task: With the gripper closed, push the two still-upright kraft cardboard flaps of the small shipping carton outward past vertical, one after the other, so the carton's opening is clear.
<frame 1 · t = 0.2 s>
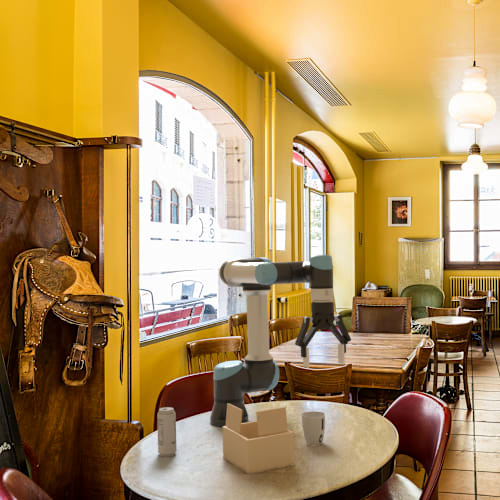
hand: (324, 365, 199), 28 cm above the table, fingers open, 13 cm apart
side flap: (233, 417, 188), point 14 cm above the table, hinge at 83.0°
front flap: (272, 421, 183), point 14 cm above the table, hinge at 83.0°
energy drink can: (167, 454, 198), on the table
carton: (258, 461, 189), on the table
cup: (314, 444, 206), on the table
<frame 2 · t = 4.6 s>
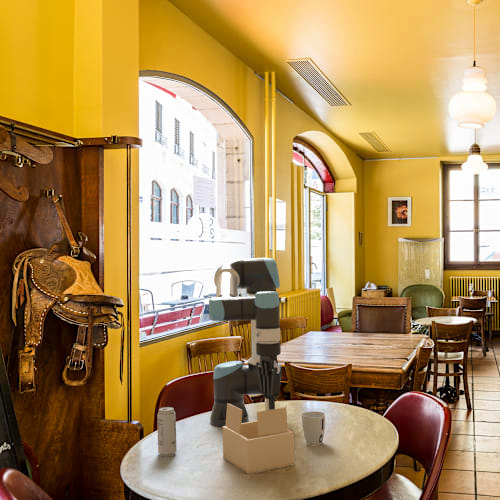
hand: (270, 419, 183), 15 cm above the table, fingers closed
front flap: (272, 421, 182), point 14 cm above the table, hinge at 85.7°, touching gripper
everything else where it was.
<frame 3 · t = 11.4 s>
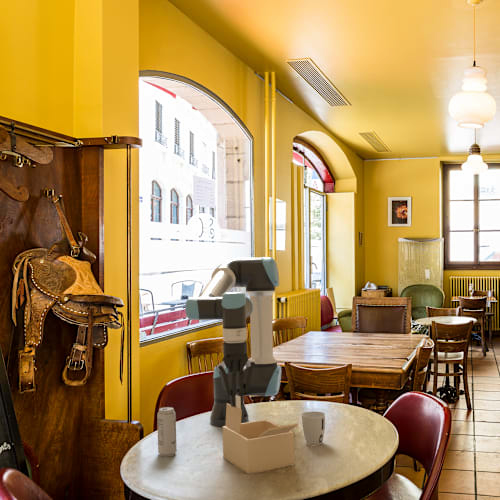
hand: (237, 416, 188), 15 cm above the table, fingers closed
side flap: (233, 417, 188), point 14 cm above the table, hinge at 84.7°, touching gripper
front flap: (278, 430, 179), point 12 cm above the table, hinge at 150.8°
everything else where it was.
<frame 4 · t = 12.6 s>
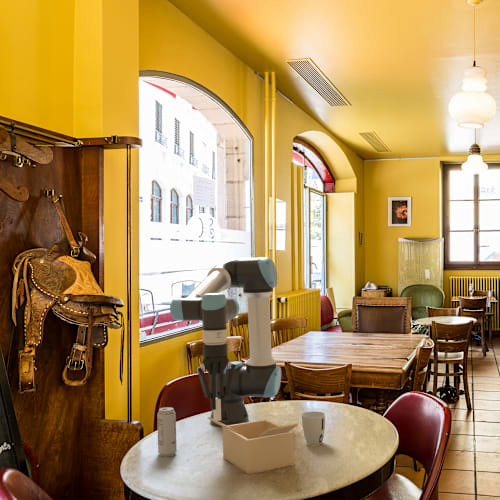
hand: (217, 419, 185), 14 cm above the table, fingers closed
side flap: (223, 425, 186), point 12 cm above the table, hinge at 150.1°, touching gripper
everything else where it was.
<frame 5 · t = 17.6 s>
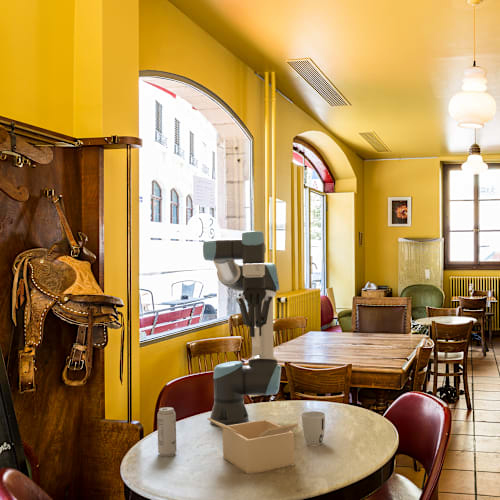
hand: (255, 346, 202), 34 cm above the table, fingers closed
side flap: (223, 425, 186), point 12 cm above the table, hinge at 152.1°
everything else where it was.
at the end: front flap at +151° (first picture: +83°); side flap at +152° (first picture: +83°) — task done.
